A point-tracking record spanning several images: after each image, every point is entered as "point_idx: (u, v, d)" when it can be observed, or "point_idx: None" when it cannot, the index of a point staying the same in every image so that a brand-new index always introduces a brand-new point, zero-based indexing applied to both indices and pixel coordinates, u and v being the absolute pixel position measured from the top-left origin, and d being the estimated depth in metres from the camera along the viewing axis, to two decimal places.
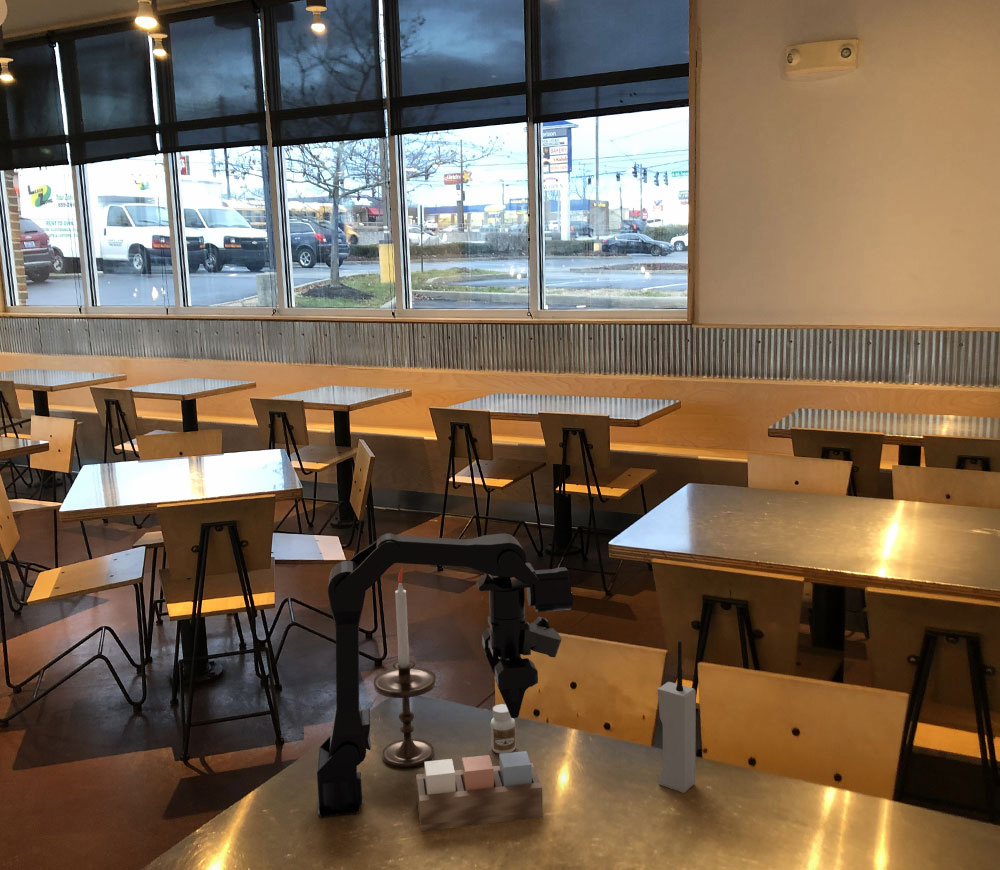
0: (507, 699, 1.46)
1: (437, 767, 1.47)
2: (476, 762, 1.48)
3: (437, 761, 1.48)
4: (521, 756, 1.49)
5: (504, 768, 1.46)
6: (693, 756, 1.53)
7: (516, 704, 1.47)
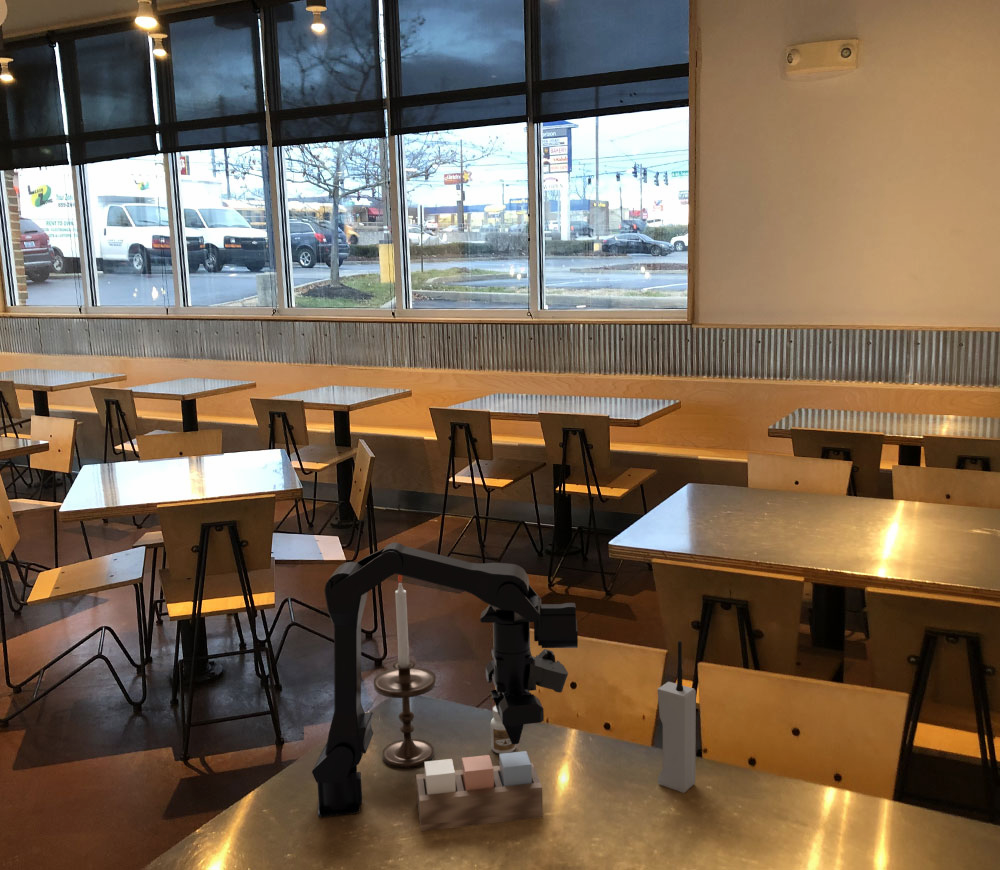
0: (507, 725, 1.45)
1: (437, 767, 1.47)
2: (476, 762, 1.48)
3: (437, 761, 1.48)
4: (521, 756, 1.49)
5: (504, 768, 1.46)
6: (693, 756, 1.53)
7: (517, 730, 1.46)
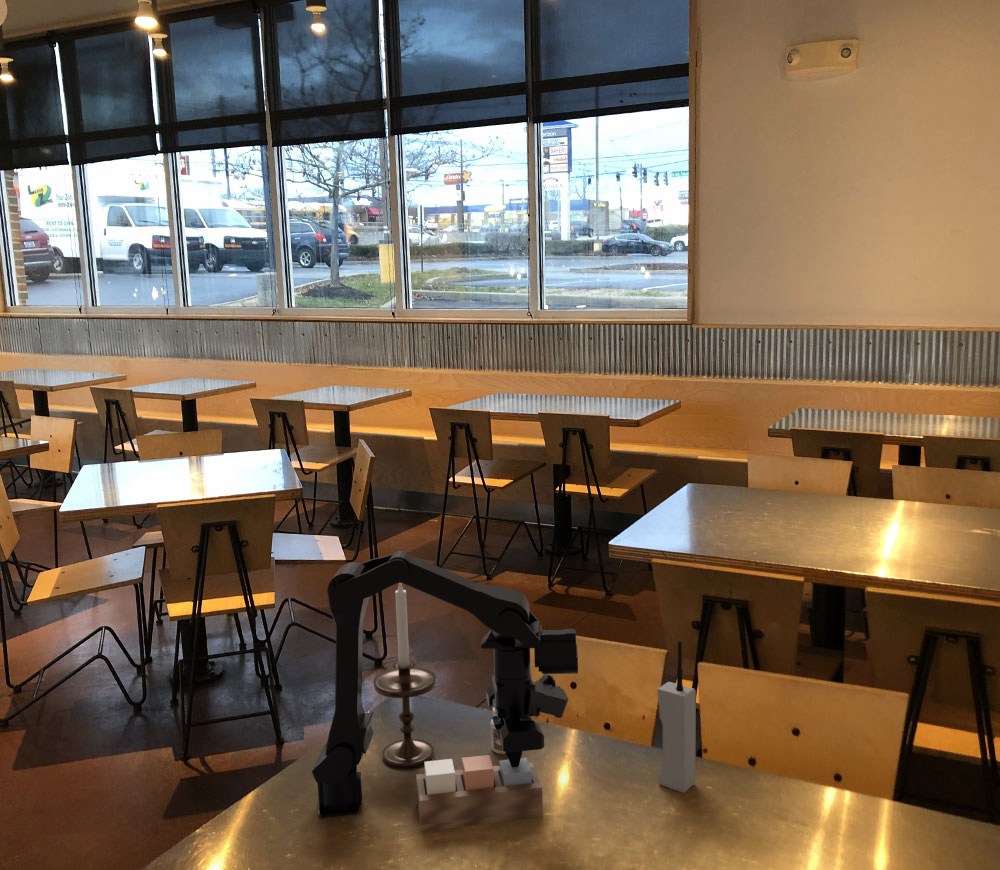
0: None
1: (437, 767, 1.47)
2: (476, 762, 1.48)
3: (437, 761, 1.48)
4: (521, 763, 1.49)
5: (504, 775, 1.46)
6: (693, 756, 1.53)
7: (517, 753, 1.47)
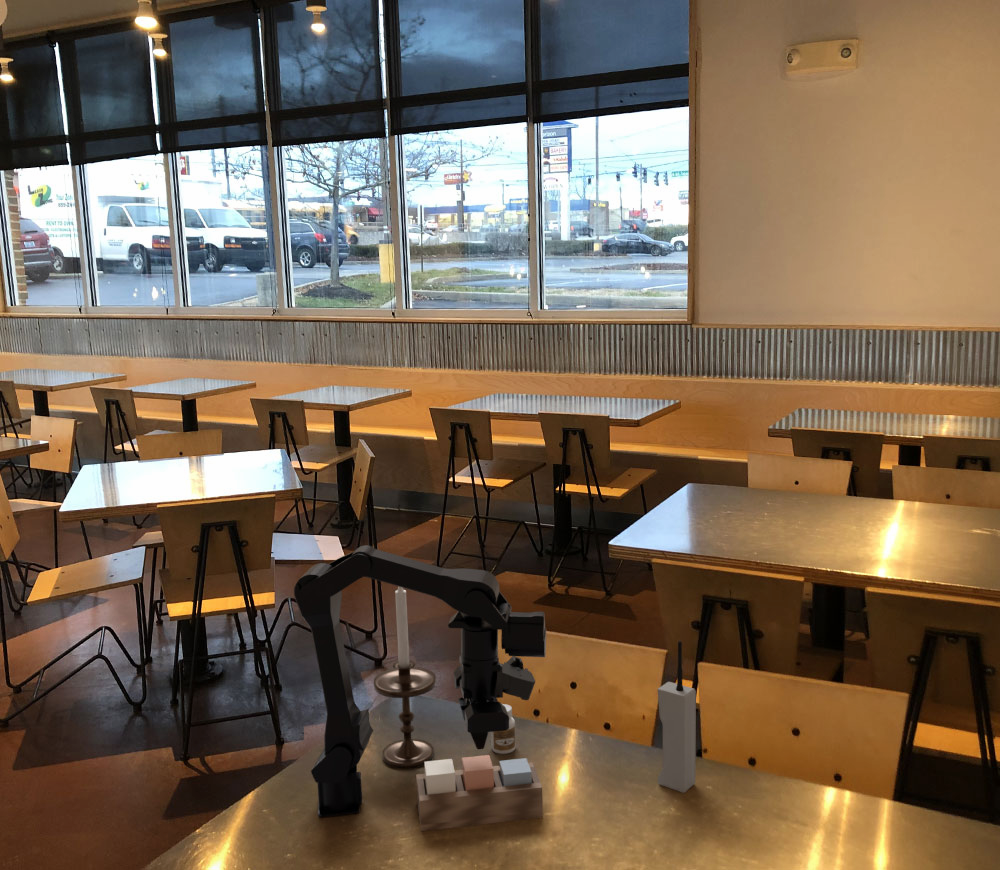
0: None
1: (437, 767, 1.47)
2: (476, 762, 1.48)
3: (437, 761, 1.48)
4: (521, 763, 1.49)
5: (504, 775, 1.46)
6: (693, 756, 1.53)
7: (482, 735, 1.46)
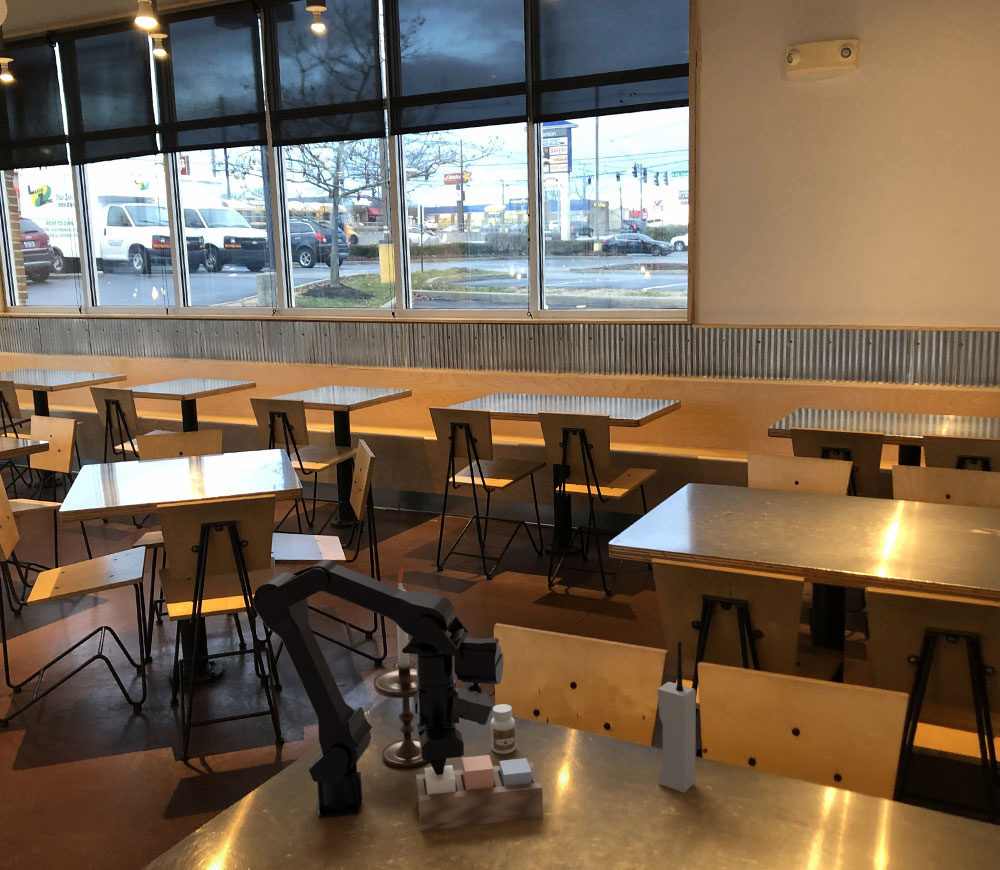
0: None
1: None
2: (476, 762, 1.48)
3: None
4: (521, 763, 1.49)
5: (504, 775, 1.46)
6: (693, 756, 1.53)
7: (441, 760, 1.45)
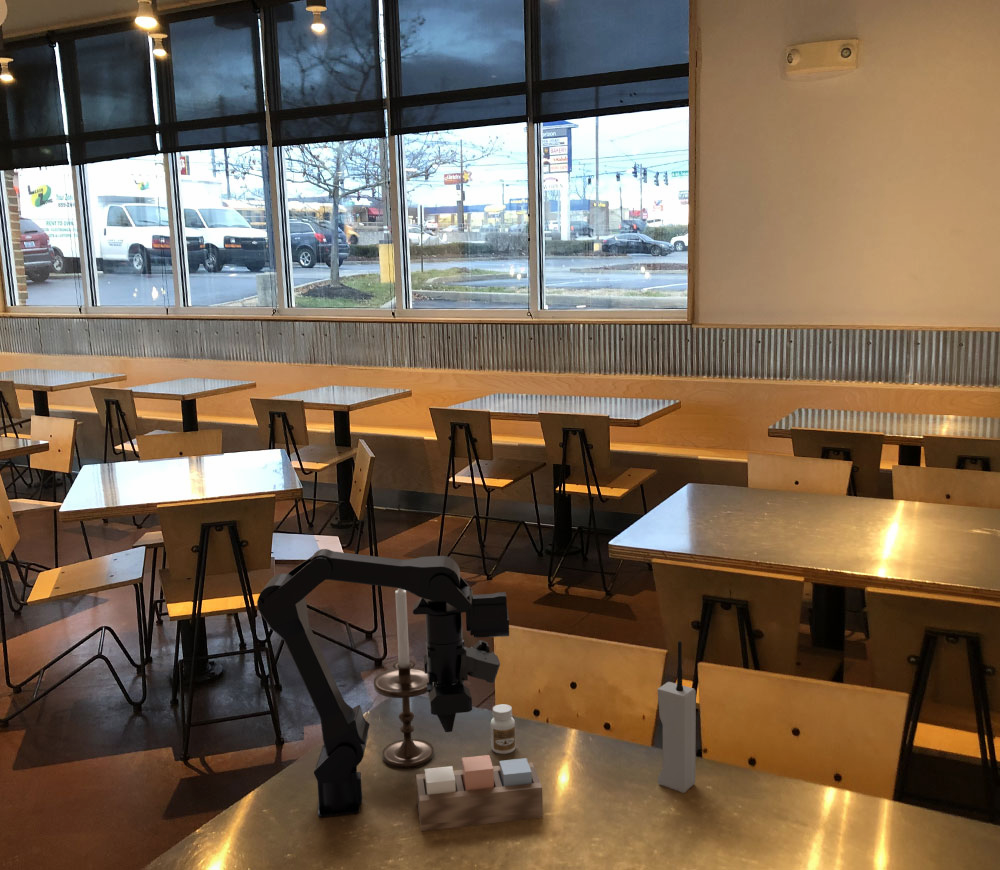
0: None
1: (437, 774, 1.47)
2: (476, 762, 1.48)
3: (437, 768, 1.48)
4: (521, 763, 1.49)
5: (504, 775, 1.46)
6: (693, 756, 1.53)
7: (450, 718, 1.48)
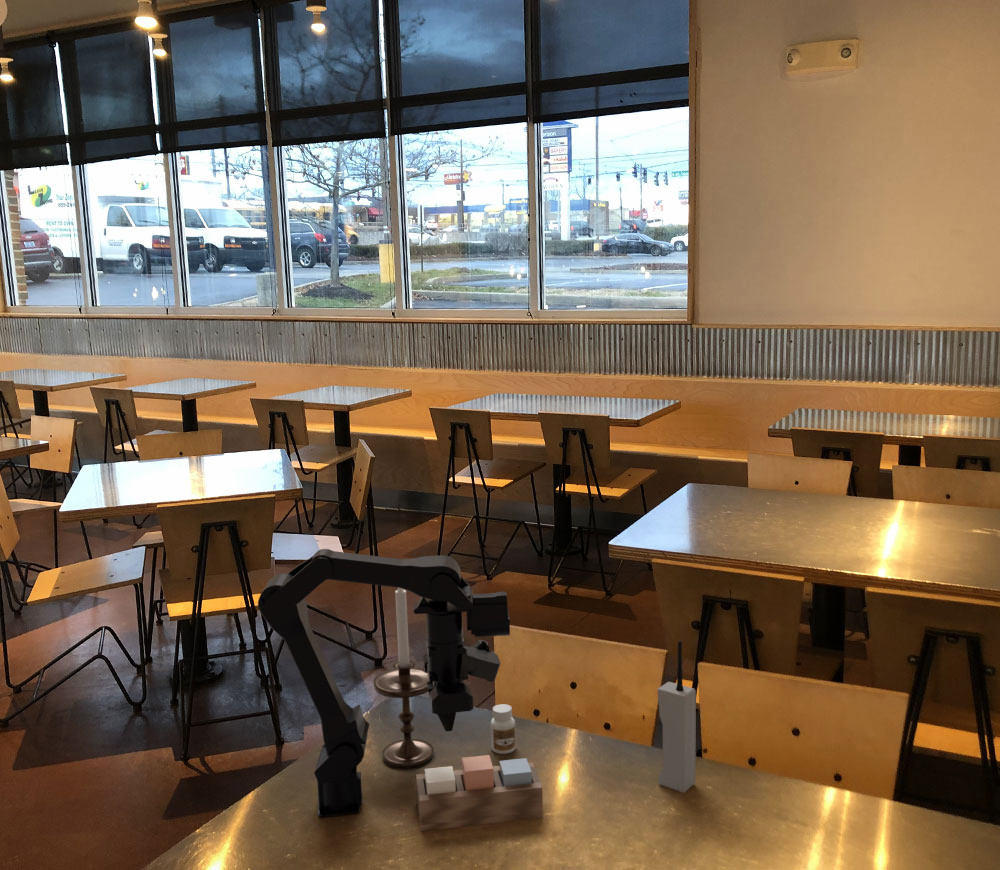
0: None
1: (437, 774, 1.47)
2: (476, 762, 1.48)
3: (437, 768, 1.48)
4: (521, 763, 1.49)
5: (504, 775, 1.46)
6: (693, 756, 1.53)
7: (450, 717, 1.49)
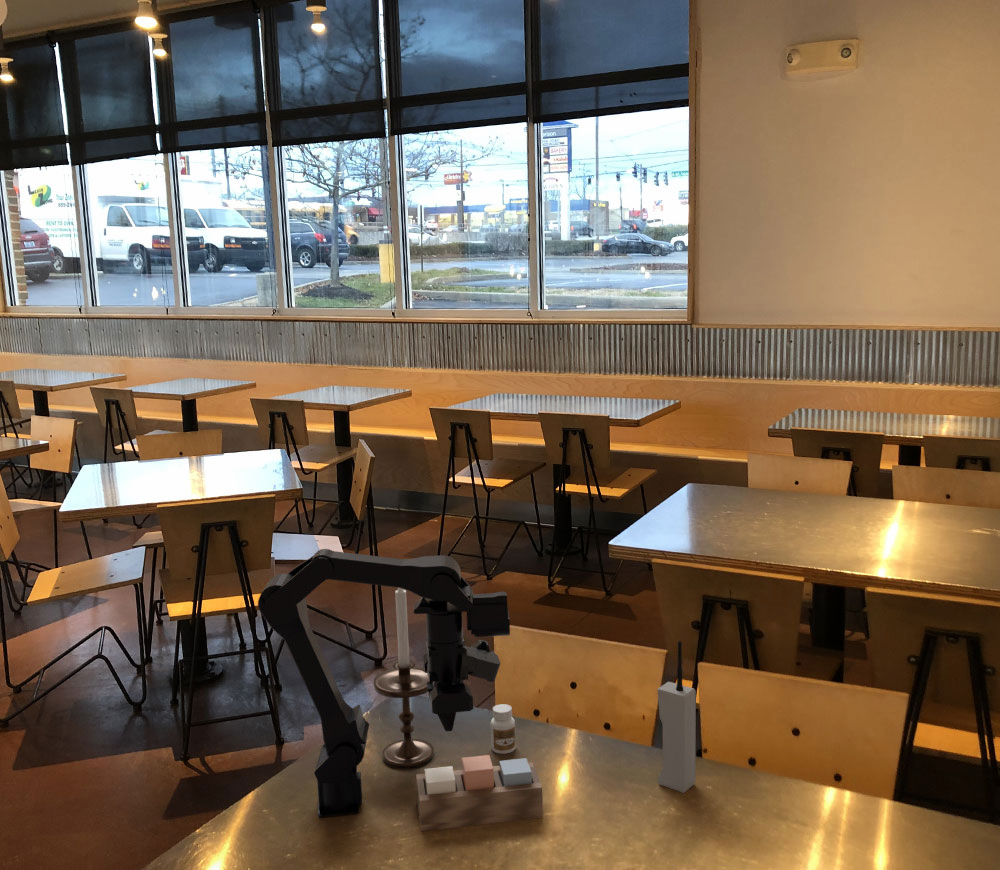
0: None
1: (437, 774, 1.47)
2: (476, 762, 1.48)
3: (437, 768, 1.48)
4: (521, 763, 1.49)
5: (504, 775, 1.46)
6: (693, 756, 1.53)
7: (450, 717, 1.49)
